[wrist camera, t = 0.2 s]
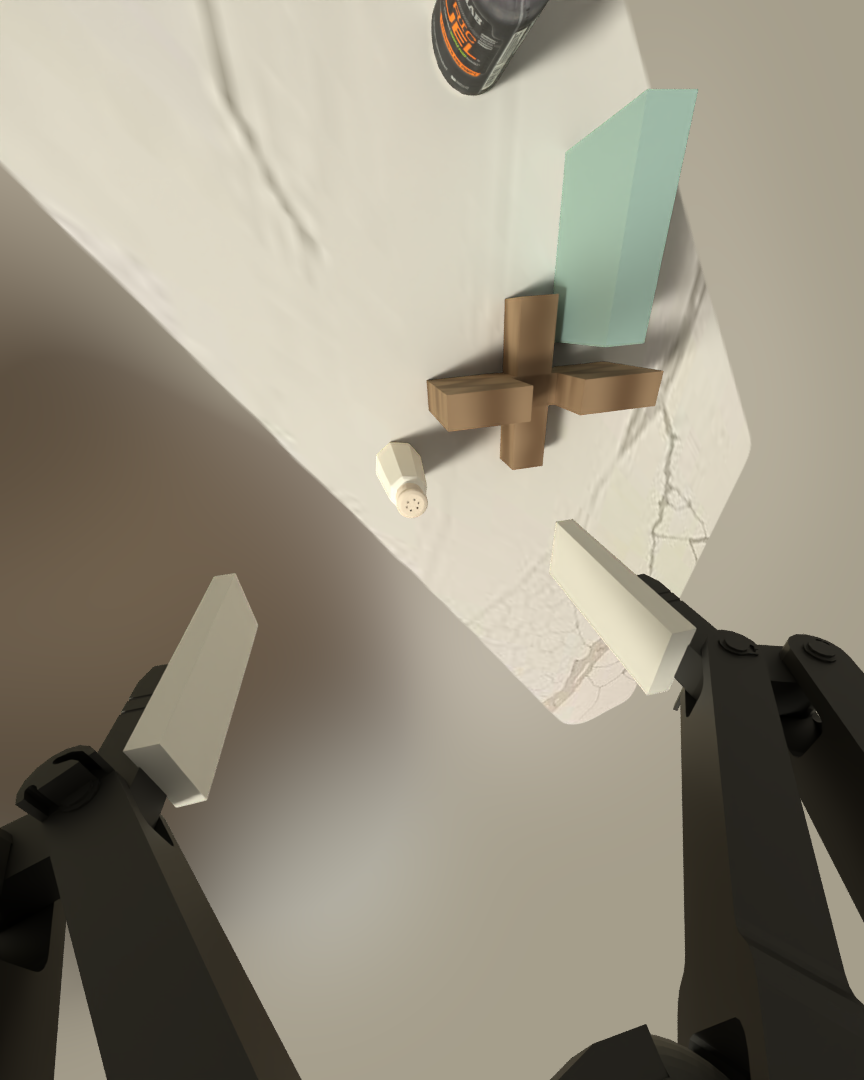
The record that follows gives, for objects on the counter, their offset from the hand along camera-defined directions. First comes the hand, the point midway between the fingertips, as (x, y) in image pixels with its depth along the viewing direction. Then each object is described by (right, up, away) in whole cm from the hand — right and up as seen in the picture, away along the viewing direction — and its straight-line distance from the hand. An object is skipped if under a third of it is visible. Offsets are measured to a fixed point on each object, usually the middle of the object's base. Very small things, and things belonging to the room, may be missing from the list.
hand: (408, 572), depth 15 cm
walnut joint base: (+10, +18, +24) cm, 32 cm away
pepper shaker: (-3, +10, +26) cm, 28 cm away
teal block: (+14, +28, +19) cm, 37 cm away
